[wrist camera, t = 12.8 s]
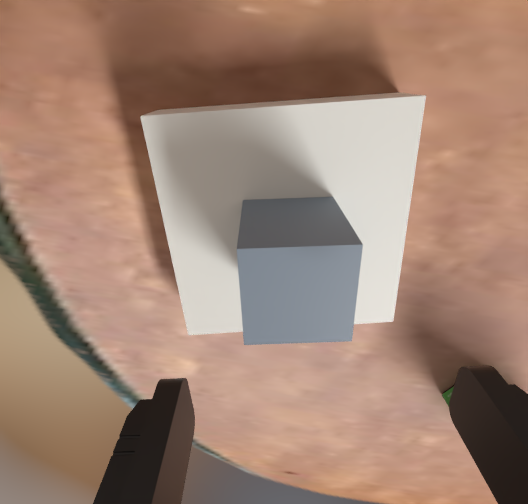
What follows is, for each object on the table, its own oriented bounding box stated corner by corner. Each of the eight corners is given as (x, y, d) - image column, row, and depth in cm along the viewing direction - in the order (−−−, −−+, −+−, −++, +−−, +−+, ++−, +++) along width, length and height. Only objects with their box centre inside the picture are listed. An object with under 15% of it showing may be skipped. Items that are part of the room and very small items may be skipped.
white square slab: (395, 92, 20) (425, 95, 16) (374, 288, 26) (393, 321, 23) (160, 108, 20) (140, 116, 16) (197, 300, 27) (188, 335, 23)
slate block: (332, 196, 19) (362, 244, 13) (328, 274, 21) (351, 341, 16) (242, 199, 19) (236, 248, 13) (247, 276, 21) (244, 345, 16)
